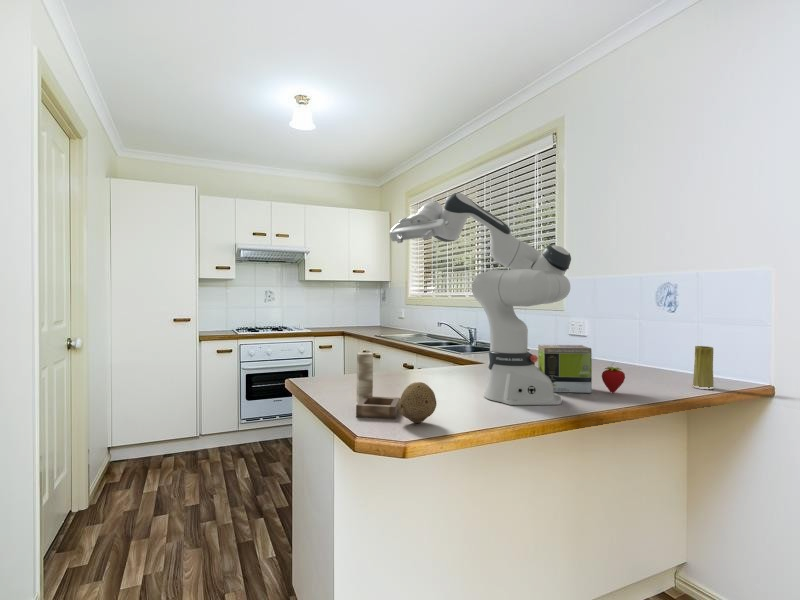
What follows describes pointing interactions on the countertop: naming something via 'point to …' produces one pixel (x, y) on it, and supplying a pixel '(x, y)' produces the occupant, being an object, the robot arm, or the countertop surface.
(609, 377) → the strawberry
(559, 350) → the tea box
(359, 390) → the beige tall block
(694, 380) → the vase
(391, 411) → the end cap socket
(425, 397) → the natural sponge
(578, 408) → the countertop surface
